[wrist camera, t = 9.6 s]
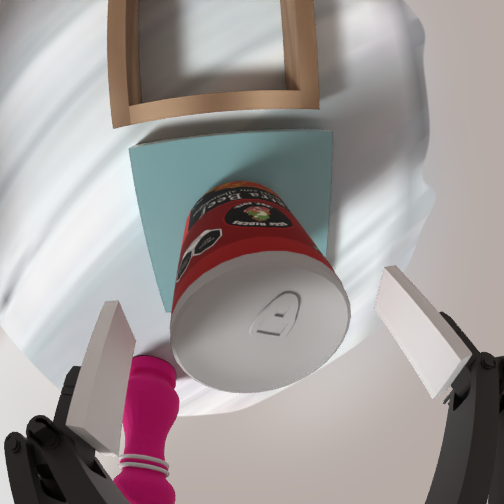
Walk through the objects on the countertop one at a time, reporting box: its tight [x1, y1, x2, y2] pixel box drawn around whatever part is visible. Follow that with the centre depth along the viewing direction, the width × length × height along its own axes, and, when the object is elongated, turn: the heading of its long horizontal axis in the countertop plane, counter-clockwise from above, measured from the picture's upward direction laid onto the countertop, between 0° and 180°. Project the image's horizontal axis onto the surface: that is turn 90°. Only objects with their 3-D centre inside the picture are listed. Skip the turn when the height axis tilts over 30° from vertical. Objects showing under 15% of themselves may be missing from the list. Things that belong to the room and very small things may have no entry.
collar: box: [107, 0, 319, 129], centre depth 13 cm, size 13×13×4 cm
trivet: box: [129, 129, 333, 312], centre depth 21 cm, size 14×14×2 cm
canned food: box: [170, 181, 351, 393], centre depth 16 cm, size 8×8×11 cm
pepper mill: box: [113, 356, 179, 504], centre depth 21 cm, size 7×7×20 cm
